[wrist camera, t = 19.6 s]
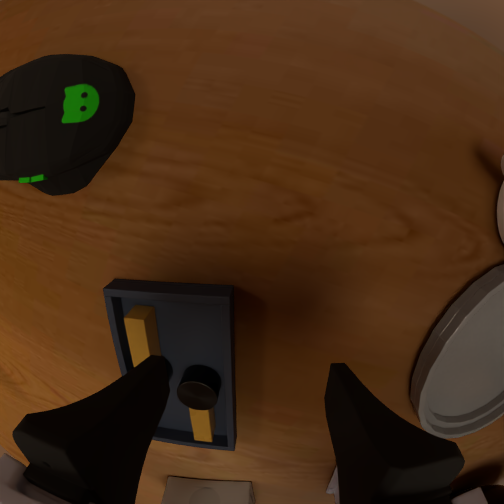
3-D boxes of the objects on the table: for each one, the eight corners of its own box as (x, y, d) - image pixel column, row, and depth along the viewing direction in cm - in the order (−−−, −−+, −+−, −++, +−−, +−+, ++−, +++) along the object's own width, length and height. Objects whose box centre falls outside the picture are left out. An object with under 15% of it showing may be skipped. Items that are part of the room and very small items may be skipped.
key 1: (224, 426, 25) (221, 443, 23) (190, 422, 25) (185, 439, 23) (220, 366, 23) (216, 383, 20) (181, 362, 23) (173, 379, 21)
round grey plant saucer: (509, 402, 24) (518, 415, 21) (385, 433, 25) (392, 453, 22) (563, 260, 19) (579, 268, 16) (440, 256, 20) (459, 268, 17)
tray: (236, 436, 26) (234, 451, 24) (147, 424, 26) (141, 437, 24) (233, 285, 21) (229, 296, 19) (114, 278, 22) (102, 288, 20)
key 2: (126, 303, 22) (113, 316, 19) (164, 307, 21) (154, 321, 19) (140, 378, 24) (132, 394, 22) (175, 383, 23) (168, 400, 21)
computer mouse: (127, 198, 20) (98, 206, 16) (-10, 195, 20) (-39, 202, 17) (143, 44, 17) (119, 24, 13) (-1, 80, 17) (-29, 76, 13)
